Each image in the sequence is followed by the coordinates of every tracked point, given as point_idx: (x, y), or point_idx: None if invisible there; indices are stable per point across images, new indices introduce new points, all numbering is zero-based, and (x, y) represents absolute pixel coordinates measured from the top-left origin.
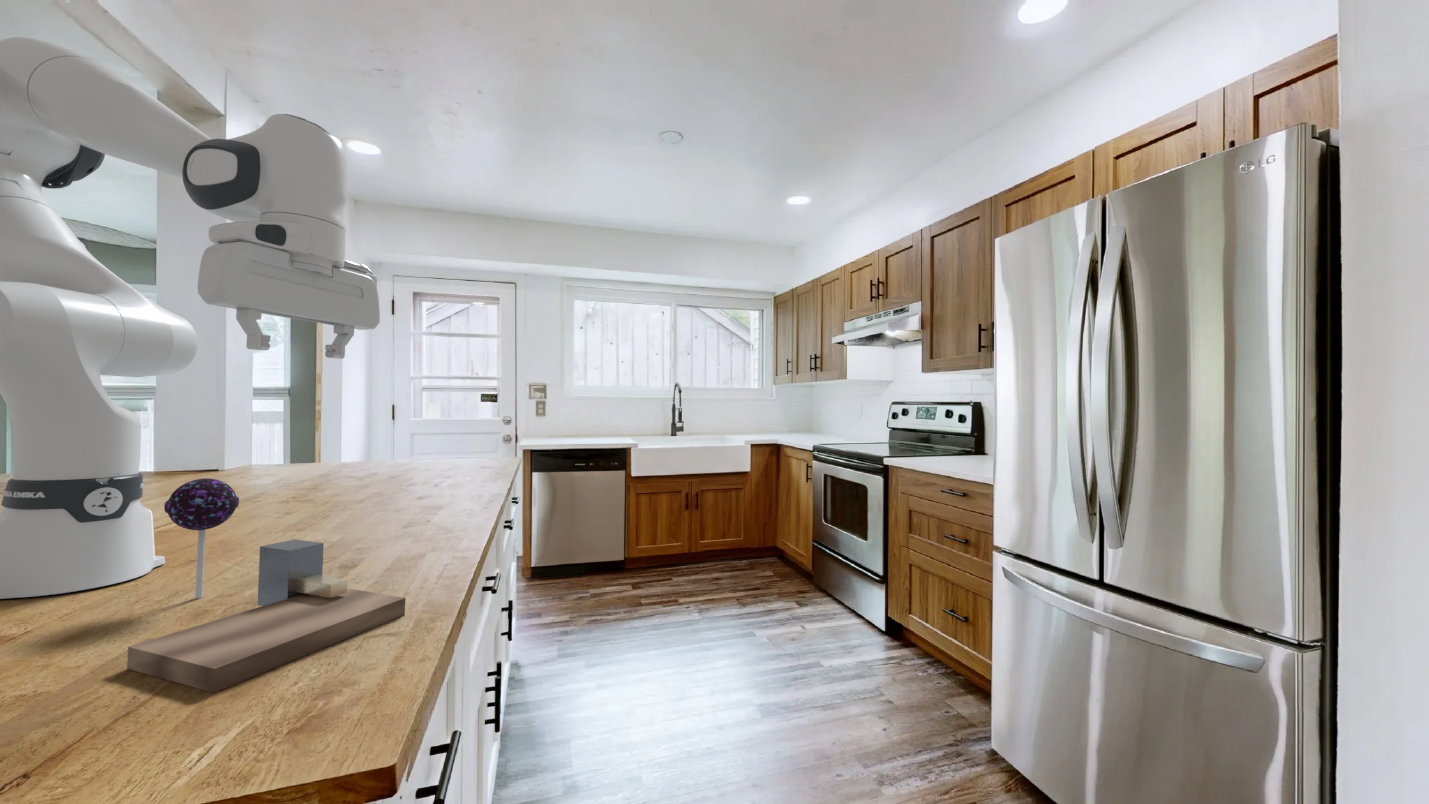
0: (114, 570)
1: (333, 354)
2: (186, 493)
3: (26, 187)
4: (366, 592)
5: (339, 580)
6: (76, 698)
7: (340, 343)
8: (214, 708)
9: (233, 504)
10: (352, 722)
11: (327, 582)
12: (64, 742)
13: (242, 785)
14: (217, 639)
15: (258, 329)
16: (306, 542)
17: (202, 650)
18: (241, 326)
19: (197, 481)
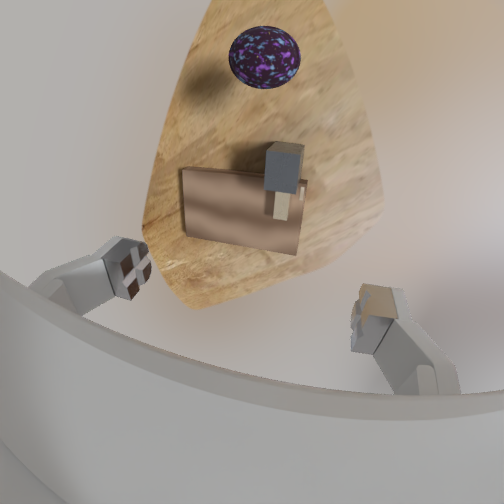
0: None
1: (351, 318)
2: (234, 65)
3: None
4: (299, 223)
5: (283, 216)
6: (166, 180)
7: (377, 357)
8: (185, 242)
9: (278, 86)
10: (200, 292)
11: (276, 211)
12: (153, 216)
13: (169, 285)
14: (205, 204)
15: (98, 301)
16: (293, 177)
17: (194, 211)
18: (67, 264)
19: (245, 58)
